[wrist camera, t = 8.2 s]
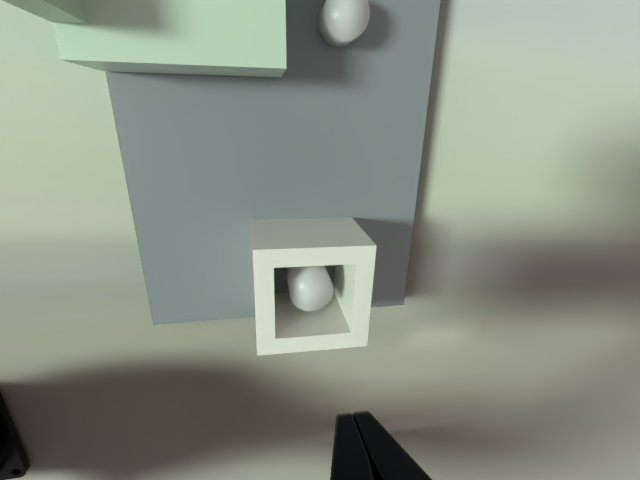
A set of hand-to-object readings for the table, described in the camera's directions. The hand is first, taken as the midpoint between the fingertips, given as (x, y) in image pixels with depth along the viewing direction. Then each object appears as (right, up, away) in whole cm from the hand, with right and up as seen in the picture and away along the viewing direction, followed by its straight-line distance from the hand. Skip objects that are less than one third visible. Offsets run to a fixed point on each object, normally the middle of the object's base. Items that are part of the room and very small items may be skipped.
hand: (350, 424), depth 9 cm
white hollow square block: (-2, +3, +9) cm, 10 cm away
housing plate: (-3, +10, +8) cm, 13 cm away
